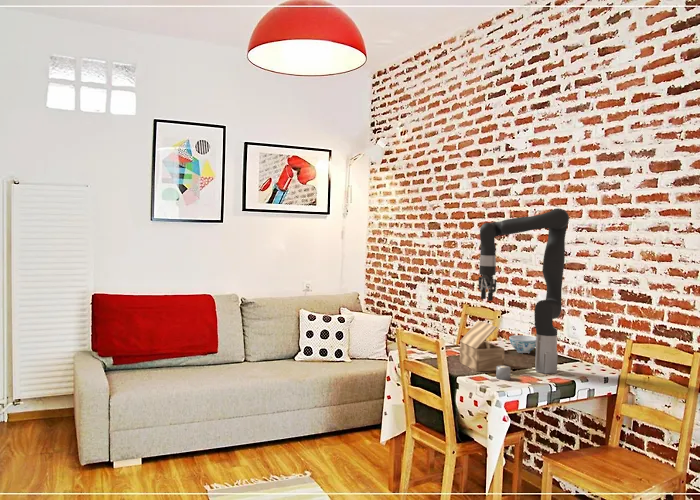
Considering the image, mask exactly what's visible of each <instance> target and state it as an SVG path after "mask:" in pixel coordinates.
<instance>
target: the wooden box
mask: <svg viewBox="0 0 700 500" xmlns="http://www.w3.org/2000/svg"><path fill="white" fill-rule="evenodd" d="M459 363H460V364H462V365H464V366H465V367H467V368H470V369H471V370H473V371H475V372H486V371H488V372H489V371H490V372H491V371H496V366H500V365H503V366H505V348H503V347H501V346H499V345H497V344H494V343H492V342H489V341H487V340H486V341H484V342H483V343H482V344H481V346H480V347H479V348H478V349H475V348H472V347H470V346H468V345H466V344H464V343H461V342H460V341H459Z"/></svg>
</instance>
